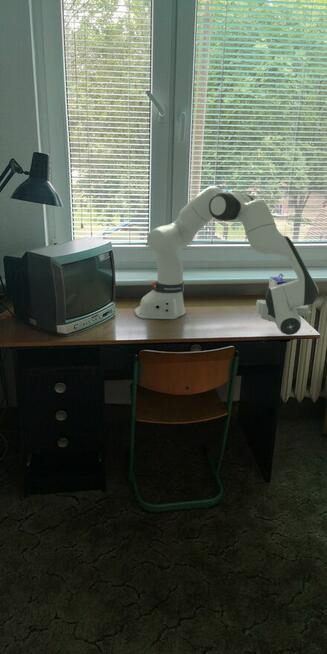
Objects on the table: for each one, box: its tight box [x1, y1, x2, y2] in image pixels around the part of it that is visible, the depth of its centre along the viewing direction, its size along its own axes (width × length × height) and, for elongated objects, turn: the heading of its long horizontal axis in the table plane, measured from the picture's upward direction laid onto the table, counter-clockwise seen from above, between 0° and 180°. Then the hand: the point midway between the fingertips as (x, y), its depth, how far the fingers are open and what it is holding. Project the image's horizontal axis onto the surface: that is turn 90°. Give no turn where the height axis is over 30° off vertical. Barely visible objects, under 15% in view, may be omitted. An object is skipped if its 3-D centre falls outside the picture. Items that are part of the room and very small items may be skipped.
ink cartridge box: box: [268, 273, 288, 289], centre depth 231 cm, size 10×6×14 cm, turn 10°
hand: (279, 301), depth 199 cm, fingers open, 8 cm apart
